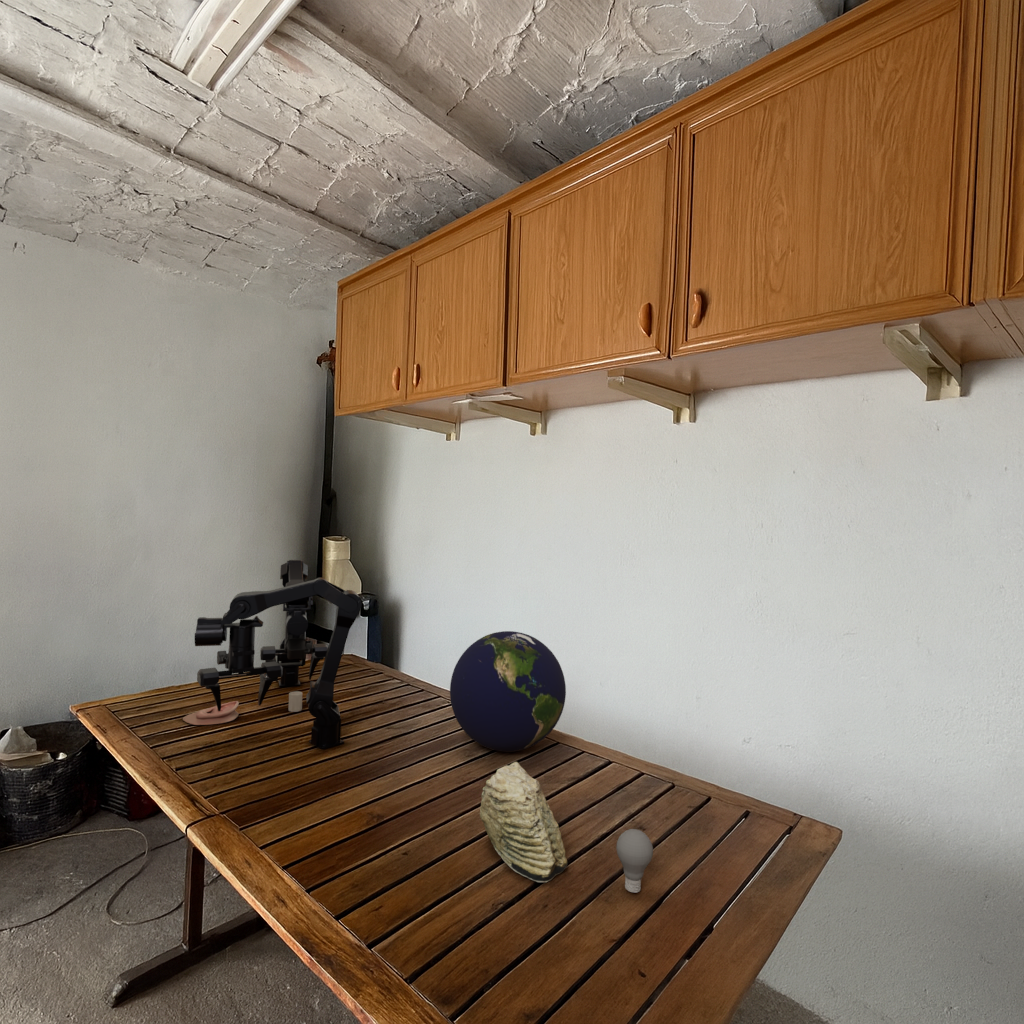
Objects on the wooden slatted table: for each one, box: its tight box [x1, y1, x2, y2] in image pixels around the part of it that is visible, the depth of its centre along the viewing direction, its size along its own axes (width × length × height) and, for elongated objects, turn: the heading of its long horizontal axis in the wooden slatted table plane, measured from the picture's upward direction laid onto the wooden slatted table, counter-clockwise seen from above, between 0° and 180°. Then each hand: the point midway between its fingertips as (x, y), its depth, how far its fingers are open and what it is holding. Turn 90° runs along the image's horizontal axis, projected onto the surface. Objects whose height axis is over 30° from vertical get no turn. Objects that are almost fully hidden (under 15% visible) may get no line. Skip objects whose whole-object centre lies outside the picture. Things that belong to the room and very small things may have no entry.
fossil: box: [479, 761, 569, 883], centre depth 114 cm, size 9×18×15 cm, turn 46°
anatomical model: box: [182, 700, 240, 726], centre depth 176 cm, size 13×4×12 cm
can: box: [287, 690, 304, 713], centre depth 186 cm, size 4×4×5 cm
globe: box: [449, 630, 567, 753], centre depth 164 cm, size 30×30×30 cm
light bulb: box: [615, 828, 654, 894], centre depth 106 cm, size 6×6×10 cm
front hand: (239, 707), depth 155 cm, fingers open, 9 cm apart
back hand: (293, 680), depth 187 cm, fingers open, 9 cm apart
